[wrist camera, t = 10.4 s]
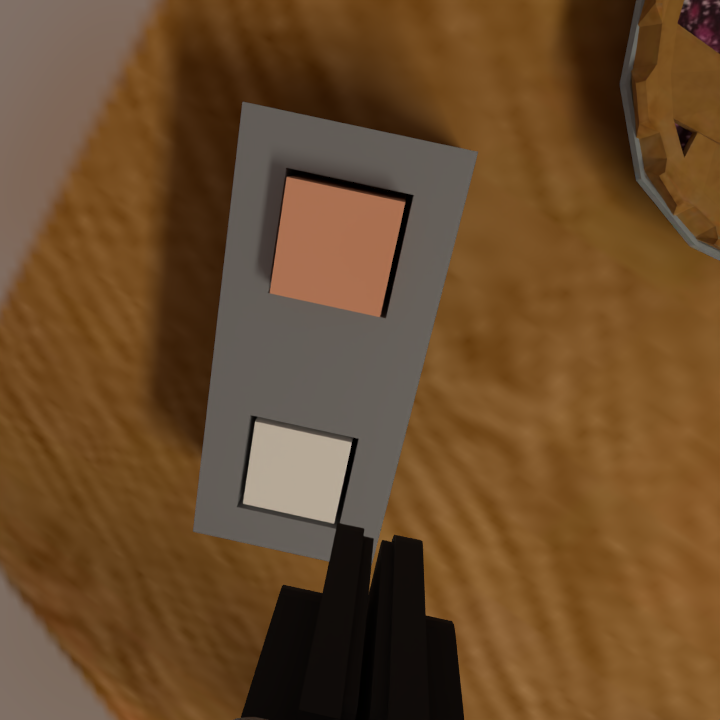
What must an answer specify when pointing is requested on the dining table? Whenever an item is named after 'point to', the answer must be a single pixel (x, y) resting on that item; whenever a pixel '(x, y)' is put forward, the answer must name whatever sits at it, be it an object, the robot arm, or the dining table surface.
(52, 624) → the dining table surface
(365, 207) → the terracotta plunger
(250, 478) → the beige plunger
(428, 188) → the button box
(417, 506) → the dining table surface
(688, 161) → the pie
